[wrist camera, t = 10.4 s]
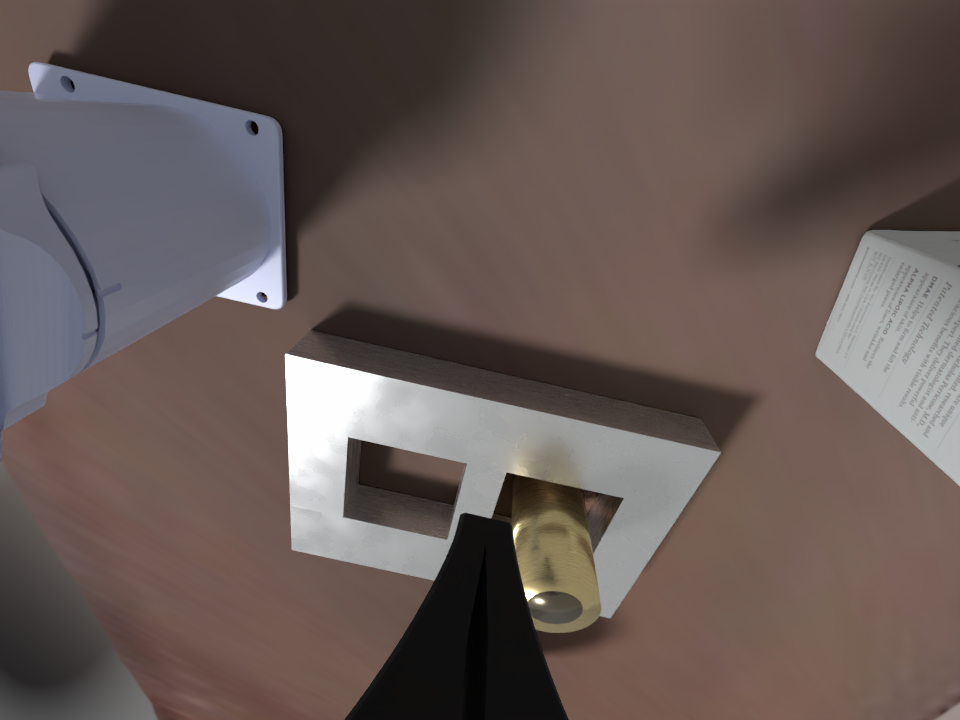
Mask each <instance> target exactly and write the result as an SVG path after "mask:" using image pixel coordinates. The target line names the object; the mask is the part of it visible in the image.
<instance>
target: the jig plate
mask: <svg viewBox="0 0 960 720" xmlns="http://www.w3.org/2000/svg"><path fill="white" fill-rule="evenodd" d="M285 357H286V388H287V418H288V448H289V479H290V509H291V539H292V550H295V551H299V552H304V553H309V554H313V555H318V556H323V557H327V558H332V559H337V560H341V561H346V562H351V563H355V564H360V565H365V566H369V567H374V568H379V569H383V570H388V571H392V572H397V573H402V574H406V575H411V576H416V577H420V578H425V579H430V580H434V581H435V579H436V577H437V575H438V573H439V571H440V569H441V567H442V564H443V562H444V560H445V558H446V556H447V554H448V551H449V549H450V546H451V544H452V541H453V539H454V536H455V532H456V528H457V525H458V521H459V517H460V514H463V513H470V514H474V515H478V516H482V517H487V518H491V519H495V520H500V521H504V522H508V523H510V524H511V526H512V518H511V517H506V516H502V515H497V514H493V512H494V509H495V506H496V503H497V500H498V497H499V494H500V491H501V488H502V485H503V482H504V479H505V476H506V473H507V472H508V473H512V474H517V475H521V476H526V477H530V478H535V479H539V480H544V481H548V482H553V483H557V484H562V485H566V486H571V487H575V488H580V489H584V490H589V491H594V492H598V493H599V495H598V497H597V499H596V501H595V503H594V505H593V507H592V509H591V511H590V513H589V515H588V517H587V518H588V525H589V531H590V538H591V544H592V550H593V557H594V563H595V569H596V576H597V582H598V589H599V595H600V601H601V613H600V615H599V616H602V617H607V618H611V617H612V615H613V614H614V612H615V611H616V609H617V608H618V606H619V605H620V603H621V602H622V600H623V599H624V597H625V596H626V594H627V593H628V591H629V590H630V588H631V587H632V585H633V584H634V582H635V581H636V579H637V578H638V576H639V575H640V573H641V572H642V570H643V569H644V567H645V566H646V564H647V563H648V561H649V560H650V558H651V557H652V555H653V554H654V552H655V551H656V549H657V548H658V546H659V545H660V543H661V542H662V540H663V539H664V537H665V536H666V534H667V533H668V531H669V530H670V528H671V527H672V525H673V524H674V522H675V521H676V519H677V518H678V516H679V515H680V513H681V512H682V510H683V509H684V507H685V506H686V504H687V503H688V501H689V500H690V498H691V497H692V495H693V494H694V492H695V491H696V489H697V488H698V486H699V485H700V483H701V482H702V480H703V479H704V477H705V476H706V474H707V473H708V471H709V470H710V468H711V467H712V465H713V464H714V462H715V461H716V459H717V458H718V456H719V455H720V453H721V451H720V450H719V448H718V446H717V445H716V443H715V441H714V440H713V438H712V436H711V435H710V433H709V431H708V429H707V428H706V426H705V424H704V423H703V421H702V419H701V418H696V417H692V416H687V415H683V414H678V413H674V412H670V411H665V410H661V409H656V408H652V407H648V406H643V405H639V404H634V403H630V402H626V401H621V400H617V399H612V398H608V397H604V396H599V395H595V394H590V393H586V392H582V391H577V390H573V389H568V388H564V387H560V386H555V385H551V384H546V383H542V382H537V381H533V380H529V379H524V378H520V377H515V376H511V375H507V374H502V373H498V372H493V371H489V370H485V369H480V368H476V367H471V366H467V365H463V364H458V363H454V362H449V361H445V360H441V359H436V358H432V357H427V356H423V355H418V354H414V353H410V352H405V351H401V350H396V349H392V348H388V347H383V346H379V345H374V344H370V343H366V342H361V341H357V340H352V339H348V338H344V337H339V336H335V335H330V334H326V333H322V332H317V331H313V330H310V331H309V332H308V333H307V334H306V335H305V336H304V337H303V338H302V339H301V340H300V341H299V342H297V343H296V344H295V345H294V346H293V347H292V348H291V349H290V350H289V351H288V352H287V353H286V354H285ZM362 440H363V441H368V442H372V443H377V444H381V445H386V446H390V447H395V448H399V449H404V450H409V451H413V452H418V453H422V454H427V455H431V456H436V457H440V458H445V459H449V460H454V461H458V462H463V463H464V467H463V471H462V475H461V479H460V482H459V486H458V490H457V494H456V498H455V502H454V505H452V504H447V503H442V502H438V501H433V500H429V499H424V498H420V497H415V496H411V495H406V494H401V493H397V492H392V491H388V490H383V489H379V488H374V487H369V486H365V485H360V484H358V481H359V469H360V457H361V445H362Z"/></svg>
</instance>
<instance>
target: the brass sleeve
mask: <svg viewBox="0 0 960 720" xmlns="http://www.w3.org/2000/svg"><path fill="white" fill-rule="evenodd" d="M512 530H513V538H514V545H515V550H516V556H517V561H518V565H519V570H520V574H521V579H522V583H523V587H524V591H525V594H526V598H527V602H528V605H529V609H530V613H531V616H532V620H533V623H534V626H535V629H536V630H539V631H544V632H551V633H566V632H573V631H577V630H581V629H583V628H586V627H588V626H589V625H591V624H592V623H594V622H595V621H596V620H597V619H598V617H599V615H600V613H601V601H600V595H599V589H598V582H597V576H596V569H595V563H594V557H593V550H592V544H591V538H590V531H589V525H588V518H587V512H586V506H585V499H584V493H583V489H580V488H575V487H571V486H566V485H562V484H557V483H553V482H548V481H544V480H539V479H535V478H530V477H526V476H521V475H516V476H515V478H514V481H513V497H512Z"/></svg>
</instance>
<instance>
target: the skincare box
mask: <svg viewBox="0 0 960 720" xmlns="http://www.w3.org/2000/svg"><path fill="white" fill-rule="evenodd" d="M815 354H816V357H817V358H819V359H820V360H821V361H822V362H823V363H824V364H826V365H827V366H828V367H829V368H830V369H831V370H832V371H833V372H834V373H836V374H837V375H838V376H839V377H840V378H841V379H842V380H843V381H844V382H845V383H846V384H848V385H849V386H850V387H851V388H852V389H853V390H854V391H855V392H856V393H858V394H859V395H860V396H861V397H862V398H863V399H864V400H866V401H867V402H868V403H869V404H870V405H871V406H872V407H873V408H874V409H875V410H876V411H878V412H879V413H880V414H881V415H882V416H883V417H884V418H885V419H886V420H887V421H888V422H889V423H891V424H892V425H893V426H894V427H895V428H896V429H897V430H898V431H900V432H901V433H902V434H903V435H904V436H905V437H906V438H907V439H908V440H909V441H911V442H912V443H913V444H914V445H915V446H916V447H917V448H918V449H919V450H920V451H922V452H923V453H924V454H925V455H926V456H927V457H928V458H929V459H930V460H932V461H933V462H934V463H935V464H936V465H937V466H938V467H939V468H940V469H942V470H943V471H944V472H945V473H946V474H947V475H948V476H949V477H950V478H951V479H953V480H954V481H955V482H956V483H957V484H958V485H959V486H960V231H898V230H870V231H867V232H866V233H865V234H864V236H863V237H862V239H861V241H860V244H859V246H858V249H857V251H856V253H855V256H854V258H853V261H852V263H851V266H850V268H849V271H848V273H847V276H846V278H845V281H844V283H843V286H842V288H841V291H840V293H839V295H838V298H837V300H836V303H835V305H834V308H833V310H832V313H831V315H830V317H829V320H828V322H827V325H826V327H825V330H824V332H823V335H822V338H821V340H820V342H819V345H818V347H817V350H816V353H815Z"/></svg>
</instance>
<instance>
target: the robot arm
mask: <svg viewBox="0 0 960 720" xmlns="http://www.w3.org/2000/svg"><path fill="white" fill-rule="evenodd" d="M28 71H29V77H30V81H31V84H32V88H33V91H34V93H30V92H13V91H0V461H1V458H2V446H3V441H2V432H1V430H4V429H6V428H7V427H9V426H11V425H12V424H14V423H16V422H17V421H19V420H21V419H22V418H24V417H26V416H28V415H29V414H31V413H33V412H34V411H36V410H38V409H39V408H41V407H43V406H44V405H45V404H46V397H47V394H48V392H49V391H50V390H51V389H53V388H55V387H57V386H58V385H60V384H62V383H64V382H65V381H67V380H69V379H71V378H72V377H74V376H75V375H77V374H79V373H81V372H82V371H84V370H86V369H88V368H89V367H91V366H93V365H95V364H96V363H98V362H100V361H102V360H104V359H105V358H107V357H109V356H111V355H112V354H114V353H116V352H118V351H119V350H121V349H123V348H125V347H127V346H128V345H130V344H132V343H134V342H135V341H137V340H139V339H141V338H142V337H144V336H146V335H148V334H149V333H151V332H153V331H155V330H157V329H158V328H160V327H162V326H164V325H165V324H167V323H169V322H171V321H172V320H174V319H176V318H178V317H179V316H181V315H183V314H185V313H187V312H188V311H190V310H192V309H194V308H195V307H197V306H199V305H201V304H202V303H204V302H206V301H208V300H210V299H211V298H213V297H215V296H218V297H223V298H227V299H231V300H236V301H240V302H245V303H249V304H253V305H258V306H262V307H267V308H271V309H280V308H282V307H283V306H284V305H285V304H286V303H287V278H286V243H285V207H284V172H283V137H282V129H281V127H280V125H279V123H278V122H277V121H276V120H275V119H274V118H272V117H270V116H266V115H262V114H257V113H253V112H249V111H245V110H241V109H236V108H232V107H228V106H224V105H220V104H215V103H211V102H207V101H203V100H199V99H194V98H190V97H186V96H182V95H178V94H173V93H169V92H165V91H161V90H157V89H152V88H148V87H144V86H140V85H136V84H131V83H127V82H123V81H119V80H114V79H110V78H106V77H102V76H98V75H93V74H89V73H85V72H81V71H77V70H72V69H68V68H64V67H60V66H56V65H51V64H47V63H40V62H33V63H31V64H30V66H29V69H28ZM70 79H71V80H72V81H73V83H74V85H75V90H74V89H73V88H72V86H71V84H70ZM252 121H254V122H255V123H256V124H257V125H258V128H259V131H258V134H257V135H256V134H254V132H253V131H252V129H251V122H252ZM261 292H263V293H265V294H266V295H267V298H268V300H267V299H265V298H263V296H262V294H261ZM345 720H568V717H567V715H566V712H565V710H564V708H563V705H562V703H561V700H560V698H559V695H558V692H557V690H556V687H555V685H554V682H553V679H552V677H551V674H550V671H549V669H548V666H547V663H546V660H545V657H544V654H543V651H542V648H541V645H540V642H539V639H538V636H537V633H536V630H535V626H534V623H533V620H532V616H531V613H530V609H529V605H528V602H527V598H526V594H525V591H524V587H523V583H522V579H521V574H520V570H519V565H518V561H517V556H516V550H515V545H514V538H513V530H512V526H511V524H510V523H508V522H504V521H500V520H495V519H491V518H487V517H482V516H478V515H474V514H470V513H463V514H460V517H459V521H458V525H457V528H456V532H455V536H454V539H453V541H452V544H451V546H450V549H449V551H448V554H447V556H446V558H445V560H444V562H443V564H442V567H441V569H440V571H439V573H438V575H437V577H436V579H435V581H434V583H433V585H432V587H431V589H430V590H429V592H428V594H427V596H426V597H425V599H424V601H423V603H422V605H421V606H420V608H419V610H418V612H417V613H416V615H415V617H414V619H413V620H412V622H411V624H410V625H409V627H408V628H407V630H406V632H405V633H404V635H403V637H402V638H401V640H400V641H399V643H398V644H397V646H396V647H395V649H394V650H393V652H392V654H391V655H390V657H389V658H388V660H387V661H386V663H385V664H384V665H383V667H382V668H381V670H380V671H379V673H378V674H377V676H376V677H375V678H374V680H373V681H372V683H371V684H370V686H369V687H368V689H367V690H366V691H365V693H364V694H363V695H362V697H361V698H360V700H359V701H358V702H357V704H356V705H355V706H354V708H353V709H352V710H351V712H350V713H349V714H348V716H347V717H346V718H345Z"/></svg>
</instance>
